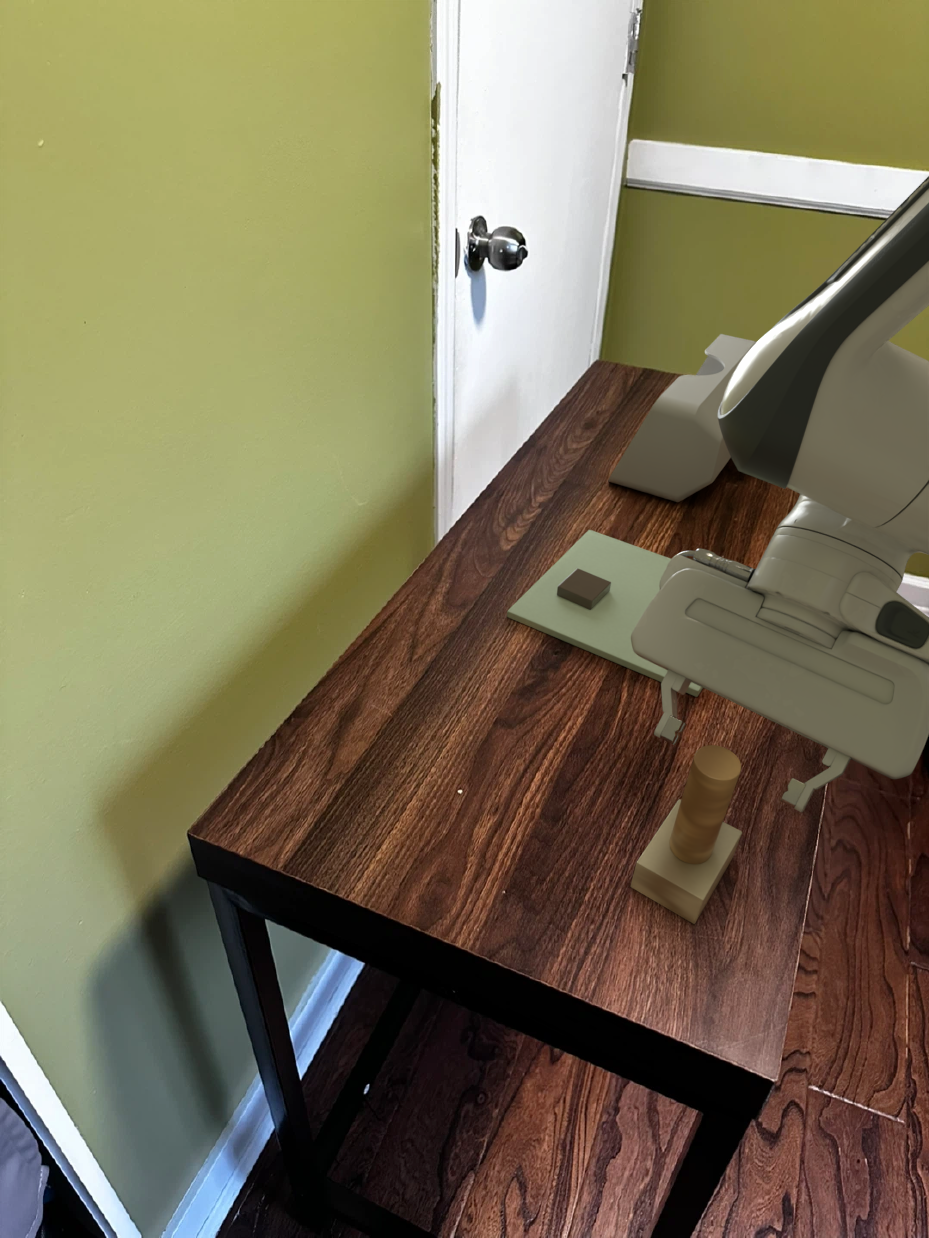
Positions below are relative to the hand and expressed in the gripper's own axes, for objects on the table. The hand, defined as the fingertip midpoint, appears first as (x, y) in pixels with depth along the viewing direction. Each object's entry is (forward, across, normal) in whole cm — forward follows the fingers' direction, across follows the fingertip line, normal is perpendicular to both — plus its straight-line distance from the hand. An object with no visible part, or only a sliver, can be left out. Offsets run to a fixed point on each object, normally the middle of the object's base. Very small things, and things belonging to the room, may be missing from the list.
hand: (725, 772), depth 59 cm
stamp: (+8, 0, +4) cm, 9 cm away
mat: (-10, -18, +22) cm, 30 cm away
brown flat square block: (-9, -23, +20) cm, 32 cm away
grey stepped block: (-33, -27, +45) cm, 62 cm away
